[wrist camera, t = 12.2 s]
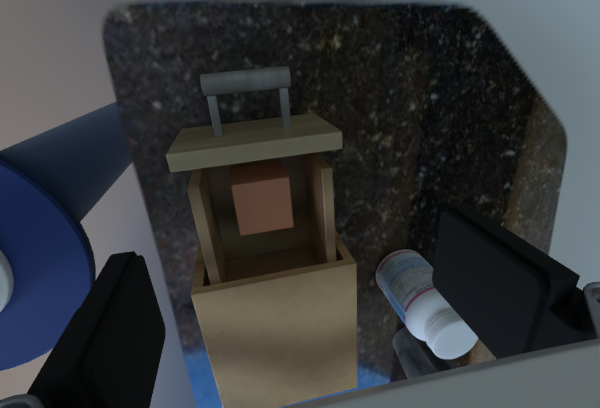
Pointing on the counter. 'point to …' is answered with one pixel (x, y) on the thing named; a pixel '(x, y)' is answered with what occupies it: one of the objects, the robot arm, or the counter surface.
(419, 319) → the pill bottle
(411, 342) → the beverage cup
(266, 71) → the drawer
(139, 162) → the counter surface
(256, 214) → the block
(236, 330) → the cabinet
